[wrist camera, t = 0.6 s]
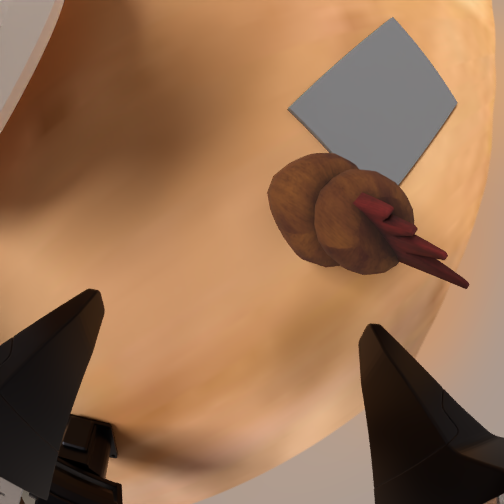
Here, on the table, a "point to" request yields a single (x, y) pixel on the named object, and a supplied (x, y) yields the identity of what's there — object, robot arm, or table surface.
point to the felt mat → (378, 103)
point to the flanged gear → (22, 46)
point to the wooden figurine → (350, 218)
